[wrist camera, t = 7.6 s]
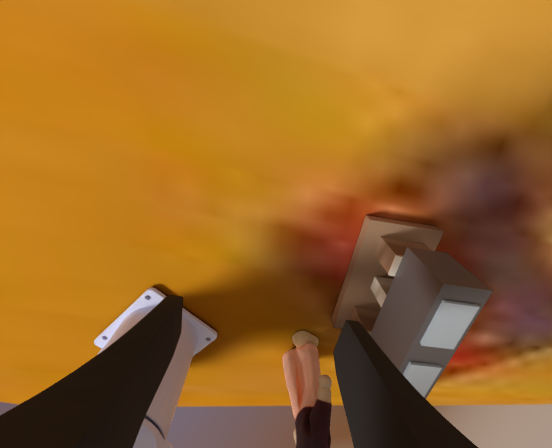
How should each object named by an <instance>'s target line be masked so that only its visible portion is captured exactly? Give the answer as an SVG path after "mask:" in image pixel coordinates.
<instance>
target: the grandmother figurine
mask: <svg viewBox="0 0 552 448" xmlns="http://www.w3.org/2000/svg"><path fill="white" fill-rule="evenodd" d="M292 341H293V343H294V345H295V346H296V349H291V350H289V351H287V352H286V353H285V354H284V355H283V367H284V373H285V379H286V384H287V388H288V391H289V396H290V401H291V406H292V410H293V414H294V417H295V425H296V429H295V430H294V434H293V435H294V439H295V443H296V448H330V444H331V437H330V417H331V406H332V405H331V391H330V387H331V379H330V377H329V376H327V375H320V365H319V356H318V349H317V346H318V343H319V339H318V338H317V337H316V336H314V335H312V334H310V333H309V332H307V331H298V332H296V333H295V334H294V335H293V337H292Z"/></svg>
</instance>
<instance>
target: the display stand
mask: <svg viewBox="0 0 552 448" xmlns="http://www.w3.org/2000/svg"><path fill="white" fill-rule="evenodd" d="M443 233H444V231H443V230H441V229H440V228H439V227H437V226H432V225H426V224H419V223H413V222H407V221H401V220H394V219H388V218H382V217H375V216H369V215H366V217H365V220H364V223H363V226H362V229H361V232H360V235H359V238H358V241H357V244H356V247H355V249H354V252H353V255H352V258H351V261H350V264H349V267H348V270H347V273H346V276H345V279H344V282H343V285H342V288H341V291H340V294H339V297H338V300H337V303H336V306H335V309H334V312H333V315H332V318H331V321H332V325H333V328H341V329H342V328H343V326H344V323H345V320H353V321H359V322H360V323H361V324H362V326H363V327H364V328H365V329H366V331H367V332H368V333H369V334H370V333H371V331H372V329H373V326H374V324H375V322H376V319H377V317H378V314H379V312H380V310H381V307H382V305H383V303H384V300H385V298H386V296H387V293H388V291H389V288H390V286H391V284H392V281H393V279H394V277H395V274H396V272H397V270H398V267H399V265H400V262H401V260H402V258H403V255H404V253H405V251H406V248H407V247H412V248H419V249H426V250H432V251H435V250H436V248H437V246H438V244H439V242H440V240H441V238H442V236H443Z"/></svg>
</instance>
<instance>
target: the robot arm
mask: <svg viewBox="0 0 552 448" xmlns="http://www.w3.org/2000/svg"><path fill="white" fill-rule="evenodd" d="M147 295H148V296H150V297H148V296H147ZM207 337H209V338H207ZM216 338H217V332H216V331H215V330H213V329H212V328H210V327H209V326H208V325H206V324H205V323H203V322H202V321H201V320H199V319H198V318H196V317H195V316H194V315H192V314H191V313H189V312H188V311H187V310H185V309H184V308H183V297H180V296H173V295H168V296H166V295H164V294H163V293H161V292H160V291H158V290H157V289H155V288H149V289H147V290H146V291H145V292H144V293H143V294H142V295H141V296H140V297H139V298H138V299H137V300H136V301H135V302H134V303H133V304H132V305H131V306H129V307H128V308H127V309H126V310H125V311H124V312H123V313H122V314H121V315H120V316H119V317H118V318H117V319H116V320H115V321H114V322H113V323H112V324H110V325H109V326H108V327H107V328H106V329H105V330H104V331H103V332H102V333H101V334H100V335H99V336H98V337H97V338H96V339H95V341H94V343H95V345H96V346H98V347H100V348H102V349H101V350H100V352H99V353H98V354H97V356H95V357H94V358H92V359H91V360H90V361H88V362H87V363H85V364H84V365H82V366H81V367H80V368H78V369H77V370H75V371H74V372H72V373H71V374H69V375H67V376H66V377H64V378H63V379H61V380H60V381H58V382H57V383H55V384H53V385H52V386H50V387H49V388H47V389H45V390H44V391H42V392H41V393H39V394H37V395H36V396H34V397H32V398H30V399H29V400H27V401H25V402H23V403H21V404H20V405H18V406H16V407H14V408H13V409H11V410H9V411H7V412H6V413H4V414H2V415H1V416H0V448H173V445H172V444H170V443H168V442H167V441H165V440H166V437H167V434H168V431H169V428H170V425H171V422H172V419H173V416H174V413H175V409H176V407H177V404H178V401H179V397H180V394H181V391H182V388H183V385H184V382H185V379H186V376H187V373H188V370H189V367H190V364H191V361H192V358H193V356H194V355H196V354H197V353H198V352H200V351H201V350H202V349H203V348H205V347H206V346H207V345H209V344H210V343H211V342H213V341H214V340H215V339H216ZM334 361H335V368H336V375H337V380H338V384H339V388H340V392H341V396H342V400H343V404H344V408H345V412H346V416H347V420H348V424H349V428H350V432H351V436H352V441H353V445H354V448H478V447H477V446H476V445H474V444H473V443H472V442H471V441H470V440H469V439H467V438H466V437H465V436H464V435H463V434H462V433H461V432H460V431H458V430H457V429H456V428H455V427H454V426H453V425H452V424H451V423H449V421H447V420H446V419H445V418H444V417H443V416H442V415H441V414H440V413H439V412H438V411H437V410H436V409H435V408H434V407H433V406H432V405H431V404H430V403H429V402H428V401H427V400H426V399H425V398H424V397H423V396H422V395H421V394H420V393H419V392H418V391H417V390H416V389H415V388H414V387H413V385H412V384H411V383H410V382H409V381H408V380H407V379H406V378H405V377H404V376H403V374H402V373H401V372H400V371H399V370H398V369H397V367H396V366H395V365H394V364H393V363H392V362H391V360H390V359H389V358H388V357H387V356H386V354H385V353H384V352H383V351H382V349H381V348H380V347H379V346H378V344H377V343H376V342H375V341H374V339H373V338H372V337H371V336H370V334H369V333H368V332H367V331H366V329H365V328H364V327H363V326H362V324H361V323H360V322H359V321H353V320H345V323H344V326H343V328H342V331H341V333H340V336H339V339H338V341H337V344H336V346H335V349H334Z"/></svg>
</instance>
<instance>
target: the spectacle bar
mask: <svg viewBox="0 0 552 448" xmlns="http://www.w3.org/2000/svg"><path fill="white" fill-rule="evenodd" d="M492 292H493V290H491V289H490V288H489V287H488V286H487V285H485V284H484V283H483V282H482V281H481V280H479V279H478V278H477V277H476V276H474V275H473V274H472V273H471V272H470V271H468V270H467V269H466V268H465V267H464V266H462V265H461V264H460V263H459V262H457V261H456V260H455V259H454V258H453V257H451V256H450V255H449V254H448V253H446V252H439V251H432V250H426V249H419V248H412V247H407V248H406V251H405V253H404V255H403V258H402V260H401V262H400V265H399V267H398V270H397V272H396V274H395V277H394V279H393V281H392V284H391V286H390V288H389V291H388V293H387V296H386V298H385V300H384V303H383V305H382V307H381V310H380V312H379V314H378V317H377V319H376V322H375V324H374V326H373V329H372V331H371V333H370V336H371V337H372V338H373V339H374V341H375V342H376V343H377V344H378V346H379V347H380V348H381V349H382V351H383V352H384V353H385V354H386V356H387V357H388V358H389V359H390V360H391V362H392V363H393V364H394V365H395V366H396V367H397V369H398V370H399V371H400V372H401V373H402V374H403V376H404V377H405V378H406V379H407V380H408V381H409V382H410V383H411V384H412V385H413V387H414V388H415V389H416V390H417V391H418V392H419V393H420V394H421V395H422V396H423V397H424V398H425V399H426V397H427V396H428V394H429V393H430V391H431V389H432V388H433V386H434V385H435V383H436V381H437V380H438V378H439V377H440V375H441V373H442V372H443V370H444V369H445V367H446V365H447V364H448V362H449V361H450V359H451V357H452V356H453V354H454V353H455V351H456V349H457V348H458V346H459V345H460V343H461V341H462V340H463V338H464V337H465V335H466V333H467V332H468V330H469V329H470V327H471V325H472V324H473V322H474V321H475V319H476V317H477V316H478V314H479V313H480V311H481V309H482V308H483V306H484V305H485V303H486V301H487V300H488V298H489V297H490V295H491V293H492Z"/></svg>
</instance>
